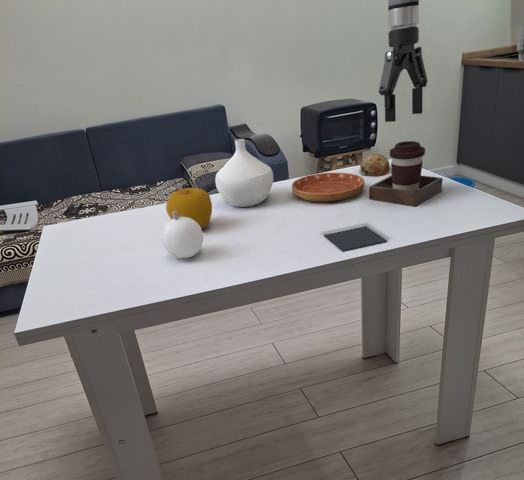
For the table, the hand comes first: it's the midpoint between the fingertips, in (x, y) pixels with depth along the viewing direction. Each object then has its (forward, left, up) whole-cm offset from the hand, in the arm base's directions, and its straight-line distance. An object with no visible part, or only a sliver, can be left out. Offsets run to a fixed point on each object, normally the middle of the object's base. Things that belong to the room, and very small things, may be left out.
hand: (404, 117), depth 147 cm
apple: (+41, +46, -23) cm, 66 cm away
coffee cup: (+1, -5, -23) cm, 24 cm away
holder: (+1, -5, -23) cm, 24 cm away
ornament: (+27, +61, -23) cm, 71 cm away
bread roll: (+23, -23, -23) cm, 40 cm away
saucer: (+24, +3, -23) cm, 34 cm away
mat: (-5, +31, -23) cm, 39 cm away
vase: (+43, +21, -23) cm, 54 cm away
